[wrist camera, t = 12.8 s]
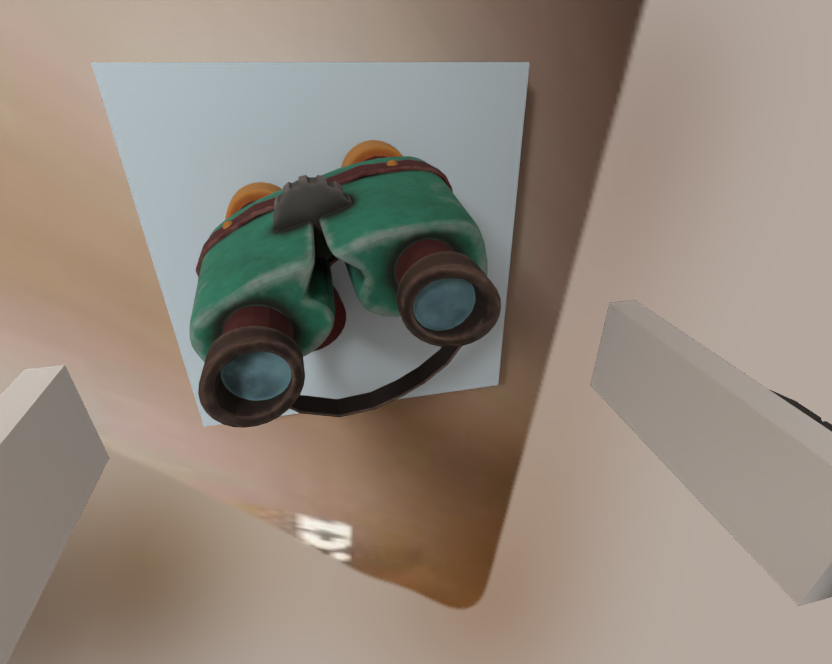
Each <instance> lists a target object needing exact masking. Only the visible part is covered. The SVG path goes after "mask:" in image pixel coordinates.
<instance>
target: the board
mask: <svg viewBox="0 0 832 664" xmlns="http://www.w3.org/2000/svg"><path fill="white" fill-rule="evenodd" d="M529 63H530V62H190V63H91V64H92V67H93V71H94V74H95V77H96V80H97V83H98V87H99V90H100V93H101V96H102V100H103V103H104V106H105V109H106V112H107V116H108V119H109V122H110V125H111V129H112V132H113V135H114V138H115V142H116V145H117V148H118V151H119V154H120V158H121V161H122V164H123V167H124V171H125V174H126V177H127V180H128V183H129V187H130V190H131V193H132V196H133V200H134V203H135V206H136V209H137V213H138V216H139V219H140V222H141V225H142V229H143V232H144V235H145V238H146V242H147V245H148V248H149V251H150V254H151V258H152V261H153V264H154V267H155V271H156V274H157V277H158V280H159V283H160V287H161V290H162V293H163V296H164V300H165V303H166V306H167V309H168V313H169V316H170V319H171V322H172V325H173V329H174V332H175V335H176V338H177V342H178V345H179V348H180V351H181V354H182V358H183V361H184V364H185V367H186V371H187V374H188V377H189V380H190V383H191V387H192V390H193V393H194V396H195V400H196V403H197V406H198V409H199V413H200V416H201V419H202V422H203V425H204V427H205V426H212V425H219V424H222V423H220V422H218V421H216V420H214V419H213V418H211V417H210V416H209V415H208V414H207V413H206V412H205V410H204V409H203V407H202V405H201V403H200V399H199V395H198V389H199V381H200V377H201V374H202V370H203V366H204V361H203V360H202V359H201V358H200V357H199V356H198V354H197V353H196V352H195V350H194V349H193V347H192V345H191V341H190V331H189V328H190V319H191V314H192V309H193V304H194V299H195V294H196V289H197V284H198V275H197V273H196V267H197V263H198V260H199V257H200V254H201V251H202V248H203V245H204V243H205V242H206V241H207V240H208V239H209V236H210V235H211V233H212V232H213V231H214V229H215V228H216V227H218V226H219V225H220V224H221V223H222V222H223V221H225V217H226V212H227V209H228V206H229V203H230V201H231V199H232V197H233V196H234V194H235V193H236V192H237V191H238V190H239V189H241V188H242V187H244V186H245V185H248V184H251V183H257V182H265V183H270V184H273V185H276V186H278V187H280V188H282V189H283V186H284V185H285V184H286V183H288V182H290V183H293V182H295V181H297V180H298V177H299V176H303V175H307V176H308V177H316V176H317V175H323V174H326V173H328V172H331V171H333V170H336V169H338V168H341V165H342V162H343V160H344V158H345V156H346V154H347V153H348V152H349V151H350V150H351V149H352V148H353V147H354V146H356V145H357V144H359V143H362V142H364V141H369V140H378V141H383V142H386V143H388V144H390V145H392V146H393V147H395V148H396V149H397V150H398V151H399V152H400V153H401V154H402V155H403V156H411V157H415V158H419V159H421V160H423V161H425V162H426V163H428V164H430V165H432V166H434V167H436V168H438V169H439V170H440V171H441V172H443V173H444V174H445V175H446V176H447V178H448V181H449V183H450V185H451V187H452V190H453V194H454V195H455V196H456V198H457V199H458V200H459V202H460V203H461V204H462V205H463V207H464V208H465V209H466V211H467V212H468V213H469V215H470V216H471V217H472V219H473V220H474V221H475V223H476V224H477V226H478V227H479V229H480V232H481V234H482V237H483V240H484V243H485V249H486V255H487V261H488V270H487V277H488V278H489V279H490V280H491V282H492V283H493V284H494V286H495V287H496V289H497V290H498V293H499V296H500V299H501V311H500V315H499V318H498V320H497V322H496V324H495V326H494V327H493V328H492V329H491V331H490V332H489V333H488V334H486V335H485V336H484V337H482V338H481V339H479V340H477V341H475V342H473V343H471V344H467V345H464V346H462V347H461V348H460V350H459V351H458V352H457V354H456V355H455V356H454V358H453V359H452V360H451V362H450V363H449V364H448V365H447V366H446V367H445V368H443V369H442V370H441V371H440V372H438V373H437V374H436V375H435V376H433V377H432V378H431V379H430V380H428V381H427V382H426V383H425V384H423V385H421V386H419V387H418V388H416V389H414V390H413V391H411V392H409V393H408V394H406V395H404V396H403V397H401V398H398V399H403V398H410V397H417V396H424V395H431V394H439V393H446V392H453V391H460V390H467V389H474V388H481V387H488V386H495V385H498V381H499V371H500V360H501V350H502V340H503V330H504V319H505V309H506V299H507V289H508V278H509V268H510V258H511V248H512V237H513V227H514V217H515V207H516V196H517V186H518V176H519V166H520V155H521V145H522V135H523V125H524V114H525V104H526V94H527V84H528V73H529ZM330 268H331V273H332V283H333V286H334V287H335V289H336V290H337V292H338V294H339V296H340V298H341V300H342V302H343V304H344V307H345V310H346V323H345V327H344V329H343V331H342V333H341V334H340V335H339V336H338V338H337V339H336V340H335V341H333V342H332V343H331V344H330V345H328V346H326V347H324V348H322V349H320V350H317V351H313V352H311V353H310V354H308V355H306V356H304V357H303V361H304V370H305V381H304V386H303V389H302V391H301V394H300V395H306V396H315V397H323V398H331V399H341V398H345V397H350V396H354V395H359V394H364V393H368V392H371V391H374V390H376V389H378V388H380V387H382V386H385V385H387V384H389V383H391V382H393V381H396V380H397V379H399V378H401V377H402V376H404V375H406V374H407V373H409V372H411V371H412V370H414V369H416V368H417V367H419V366H420V365H421V364H422V363H424V362H425V361H426V360H427V359H429V358H430V357H431V356H432V355H433V354H435V353H436V352H437V351H438V350H440V348H441V347H439V346H435V345H431V344H428V343H426V342H423V341H421V340H420V339H418V338H417V337H415V336H414V335H413V334H412V333H411V332H410V331H409V330H408V329H407V328H406V326H405V324H404V323H403V321H402V319H401V316H400V317H387V316H382V315H378V314H375V313H372V312H370V311H369V310H367V309H365V308H364V307H363V305H362V304H361V302H360V301H359V299H358V297H357V296H356V293H355V290H354V288H353V285H352V282H351V279H350V276H349V274H348V271H347V268H346V265H345V262H344V261H342V260H338V261H337V262H335V263H334V264H333V265H332V266H331V267H330ZM297 413H298V412H296V411H294V410H291V409H288V410H287V411H286V412H285V413H283V414H282V415H281V416H283V415H290V414H297Z"/></svg>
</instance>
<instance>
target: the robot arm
mask: <svg viewBox="0 0 832 664" xmlns="http://www.w3.org/2000/svg"><path fill="white" fill-rule="evenodd" d="M590 385H591V386H592V387H593V388H594V389H595V390H596V392H597V393H598V394H599V395H600V396H601V397H602V398H603V399H604V400H605V401H606V402H607V403H608V404H609V405H610V406H611V407H612V409H613V410H614V411H615V412H616V413H617V414H618V415H619V416H620V417H621V418H622V419H623V420H624V421H625V422H626V423H627V425H628V426H629V427H630V428H631V429H632V430H633V431H634V432H635V433H636V434H637V435H638V436H639V437H640V438H641V439H642V441H643V442H644V443H645V444H646V445H647V446H648V447H649V448H650V449H651V450H652V451H653V452H654V453H655V454H656V455H657V456H658V458H659V459H660V460H661V461H662V462H663V463H664V464H665V465H666V466H667V467H668V468H669V469H670V470H671V471H672V472H673V474H675V476H676V477H677V478H678V479H679V480H680V481H681V482H682V483H683V484H684V485H685V486H686V487H687V488H688V489H689V491H690V492H691V493H692V494H693V495H694V496H695V497H696V498H697V499H698V500H699V501H700V502H701V503H702V504H703V505H704V506H705V508H706V509H707V510H708V511H709V512H710V513H711V514H712V515H713V516H714V517H715V518H716V519H717V520H718V521H719V522H720V523H721V524H722V525H723V527H724V528H725V529H726V530H727V531H728V532H729V533H730V534H731V535H732V536H733V537H734V538H735V539H736V540H737V542H739V544H741V546H742V547H743V548H744V549H745V550H746V551H747V552H748V553H749V554H750V555H751V556H752V558H754V560H756V562H757V563H758V564H759V565H760V566H761V567H762V568H763V569H764V570H765V571H766V572H767V573H768V575H769V576H770V577H771V578H772V579H773V580H774V581H775V582H776V583H777V584H778V585H779V586H780V587H781V588H782V589H783V590H784V592H785V593H786V594H787V595H788V596H789V597H790V598H791V599H792V600H793V601H794V602H795V603H796V604H797V605H798V606H801V605H805V604H808V603H812V602H815V601H819V600H822V599H826V598H829V597H832V425H831V424H829V423H828V422H826V421H825V422H822V421H821V418H820V417H819V416H817V415H816V414H814V413H813V412H811V411H810V410H808V409H807V408H805V407H804V406H802V405H801V404H799V403H798V402H796V401H794V400H792V399H789V398H787V397H785V396H783V395H780V394H778V393H776V392H774V391H771V390H769V389H767V388H766V387H764V386H762V385H761V384H760V383H758V382H756V381H755V380H754V379H752V378H751V377H749V376H748V375H746V374H745V373H743V372H742V371H740V370H739V369H737V368H736V367H734V366H733V365H731V364H730V363H728V362H727V361H725V360H724V359H722V358H721V357H719V356H718V355H716V354H715V353H713V352H712V351H710V350H709V349H707V348H706V347H704V346H702V345H701V344H700V343H698V342H696V341H695V340H694V339H692V338H691V337H689V336H688V335H686V334H685V333H683V332H682V331H680V330H679V329H677V328H676V327H674V326H673V325H671V324H670V323H668V322H667V321H665V320H664V319H662V318H661V317H659V316H658V315H656V314H655V313H653V312H652V311H650V310H649V309H647V308H646V307H644V306H643V305H641V304H640V303H638V302H637V301H635V300H629V301H620V302H612V303H609V307H608V311H607V316H606V320H605V324H604V329H603V333H602V337H601V341H600V346H599V350H598V354H597V359H596V363H595V367H594V371H593V376H592V380H591V384H590ZM108 460H109V456H108V454H107V452H106V450H105V448H104V446H103V443H102V441H101V439H100V437H99V435H98V433H97V431H96V429H95V427H94V425H93V423H92V420H91V418H90V416H89V414H88V412H87V410H86V408H85V406H84V404H83V402H82V400H81V398H80V395H79V393H78V391H77V389H76V387H75V385H74V383H73V381H72V379H71V377H70V375H69V372H68V370H67V368H66V366H65V365H60V366H51V367H42V368H33V369H25V370H23V372H22V373H21V374H20V375H19V376H18V377H17V378H16V379H15V380H14V381H13V382H12V383H11V384H10V385H9V386H8V387H7V389H6V390H5V391H4V392H3V393H2V394H1V395H0V664H7V662H8V660H9V658H10V656H11V654H12V652H13V650H14V648H15V646H16V644H17V642H18V640H19V638H20V636H21V634H22V632H23V630H24V628H25V626H26V624H27V622H28V620H29V618H30V616H31V614H32V612H33V610H34V608H35V606H36V604H37V602H38V600H39V598H40V596H41V594H42V592H43V590H44V587H45V585H46V584H47V582H48V580H49V578H50V576H51V574H52V572H53V570H54V568H55V566H56V564H57V562H58V560H59V558H60V555H61V554H62V552H63V550H64V548H65V546H66V544H67V542H68V540H69V537H70V536H71V533H72V532H73V530H74V528H75V526H76V524H77V522H78V520H79V518H80V516H81V514H82V512H83V510H84V508H85V506H86V504H87V502H88V500H89V498H90V496H91V493H92V492H93V490H94V488H95V486H96V484H97V482H98V480H99V478H100V476H101V474H102V472H103V469H104V468H105V465H106V464H107V462H108Z"/></svg>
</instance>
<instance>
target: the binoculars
mask: <svg viewBox="0 0 832 664" xmlns="http://www.w3.org/2000/svg"><path fill="white" fill-rule="evenodd" d="M338 260H342V261H344V262H345V265H346V268H347V271H348V274H349V276H350V279H351V282H352V285H353V288H354V290H355V293H356V296H357V297H358V299H359V301H360V302H361V304H362V305H363V307H364V308H365V309H367V310H369V311H370V312H372V313H375V314H378V315H382V316H387V317H400V316H401V319H402V321H403V323H404V324H405V326H406V328H407V329H408V330H409V331H410V332H411V333H412V334H413V335H414V336H415V337H417V338H418V339H420V340H421V341H423V342H426V343H428V344H431V345H435V346H439V347H441V348H440V350H438V351H437V352H436V353H435V354H433V355H432V356H431V357H430V358H429V359H427V360H426V361H425V362H424V363H422V364H421V365H420V366H419V367H417V368H416V369H414V370H412V371H411V372H409V373H407V374H406V375H404V376H402V377H401V378H399V379H397V380H396V381H393V382H391V383H389V384H387V385H385V386H382V387H380V388H378V389H376V390H374V391H371V392H368V393H364V394H359V395H354V396H350V397H345V398H341V399H331V398H323V397H315V396H306V395H300V394H301V391H302V389H303V386H304V381H305V370H304V361H303V357H304V356H306V355H308V354H310V353H311V352H313V351H317V350H320V349H322V348H324V347H326V346H328V345H330V344H331V343H332V342H333V341H335V340H336V339H337V338H338V336H339V335H340V334H341V333H342V331H343V329H344V327H345V323H346V310H345V307H344V304H343V302H342V300H341V298H340V296H339V294H338V292H337V290H336V289H335V287H334V286H333V283H332V273H331V268H330V267H331V266H332V265H333V264H334V263H335V262H337V261H338ZM487 270H488V261H487V255H486V249H485V243H484V240H483V237H482V234H481V232H480V229H479V227H478V226H477V224H476V223H475V221H474V220H473V219H472V217H471V216H470V215H469V213H468V212H467V211H466V209H465V208H464V207H463V205H462V204H461V203H460V202H459V200H458V199H457V198H456V196H455V195H454V194H453V190H452V187H451V185H450V183H449V181H448V178H447V176H446V175H445V174H444V173H443V172H441V171H440V170H439V169H438V168H436V167H434V166H432V165H430V164H428V163H426V162H425V161H423V160H421V159H419V158H415V157H411V156H403V155H402V154H401V153H400V152H399V151H398V150H397V149H396V148H395V147H393V146H392V145H390V144H388V143H386V142H383V141H378V140H369V141H364V142H362V143H359V144H357V145H356V146H354V147H353V148H352V149H351V150H350V151H349V152H348V153H347V154H346V156H345V158H344V160H343V162H342V165H341V168H338V169H336V170H333V171H331V172H328V173H326V174H323V175H317V176H316V177H308V176H307V175H303V176H299V177H298V180H297V181H295V182H293V183H290V182H288V183H286V184H285V185H284V186H283V189H282V188H280V187H278V186H276V185H273V184H270V183H265V182H257V183H251V184H248V185H245V186H244V187H242V188H241V189H239V190H238V191H237V192H236V193H235V194H234V196H233V197H232V199H231V201H230V203H229V206H228V209H227V212H226V217H225V221H223V222H222V223H221V224H220V225H219V226H218V227H216V228H215V229H214V231H213V232H212V233H211V235H210V236H209V239H208V240H207V241H206V242H205V243H204V245H203V248H202V251H201V254H200V257H199V260H198V263H197V267H196V273H197V275H198V284H197V289H196V294H195V299H194V304H193V309H192V314H191V319H190V328H189V331H190V341H191V345H192V347H193V349H194V350H195V352H196V353H197V354H198V356H199V357H200V358H201V359H202V360H203V361H204V366H203V370H202V374H201V377H200V381H199V389H198V395H199V399H200V403H201V405H202V407H203V409H204V410H205V412H206V413H207V414H208V415H209V416H210V417H211V418H213V419H214V420H216V421H218V422H220V423H222V424H224V425H228V426H232V427H252V426H258V425H261V424H264V423H268V422H270V421H272V420H274V419H276V418H278V417H279V416H281V415H282V414H283V413H285V412H286V411H287V410H288V409H291V410H294V411H296V412H298V413H304V414H314V415H323V416H333V417H343V416H347V415H352V414H356V413H360V412H365V411H369V410H374V409H376V408H379V407H381V406H383V405H385V404H387V403H390V402H392V401H394V400H396V399H398V398H401V397H403V396H404V395H406V394H408V393H409V392H411V391H413V390H414V389H416V388H418V387H419V386H421V385H423V384H425V383H426V382H427V381H428V380H430V379H431V378H432V377H433V376H435V375H436V374H437V373H438V372H440V371H441V370H442V369H443V368H445V367H446V366H447V365H448V364H449V363H450V362H451V360H452V359H453V358H454V356H455V355H456V354H457V352H458V351H459V350H460V348H461V347H462V346H464V345H467V344H471V343H473V342H475V341H477V340H479V339H481V338H482V337H484V336H485V335H486V334H488V333H489V332H490V331H491V329H492V328H493V327H494V326H495V324H496V322H497V320H498V318H499V315H500V311H501V299H500V296H499V293H498V290H497V289H496V287H495V286H494V284H493V283H492V282H491V280H490V279H489V278H488V277H487Z"/></svg>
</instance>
